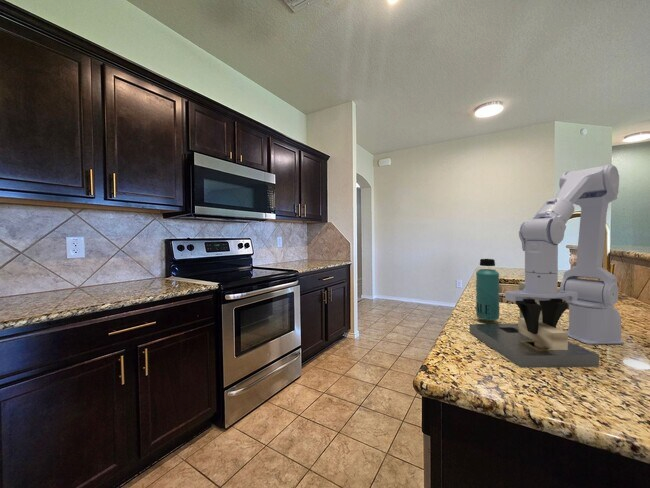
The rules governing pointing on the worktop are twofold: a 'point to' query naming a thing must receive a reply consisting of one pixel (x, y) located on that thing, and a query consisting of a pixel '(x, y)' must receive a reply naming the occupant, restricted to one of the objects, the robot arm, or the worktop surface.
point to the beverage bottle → (487, 291)
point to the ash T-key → (545, 336)
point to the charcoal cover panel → (530, 348)
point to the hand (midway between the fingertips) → (540, 332)
